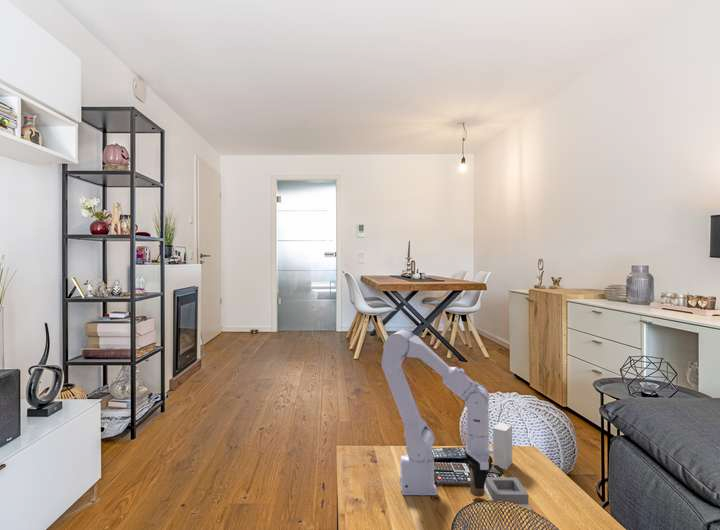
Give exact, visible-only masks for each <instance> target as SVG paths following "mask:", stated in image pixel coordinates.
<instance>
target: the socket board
mask: <svg viewBox="0 0 720 530" xmlns="http://www.w3.org/2000/svg"><path fill="white" fill-rule="evenodd" d="M484 492H485V493H486V495H487V497H488V499H489V501H490V500H493V501H502V502H509V503H513V504H516V505H519V506H522V507H525V508H528V509H531V510H532V511H533V509H532V506H531V504H529V494H528V491H527V490H526V489H525V488H524V486H523V485H522V483H521V481H520V480H519V479H518V477H512V476H511V477H510V476H509V477H506V476H505V477H495V476H494V477H492V476H491V477H489V476H487V478H486V482H485V486H484Z"/></svg>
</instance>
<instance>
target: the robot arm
mask: <svg viewBox="0 0 720 530" xmlns="http://www.w3.org/2000/svg"><path fill="white" fill-rule="evenodd" d="M382 348H383V352H382V358H381V368H382V371H383V374H384V376H385V379H386V381H387V384H388V387H389V389H390V392H391V395H392V398H393V400H394V403H395V405H396V408H397V410H398V412H399V415H400V418H401V422H402V424H403V426H404V432H403V433H404V435H403V436H404V440H405V443H406V444H405V451H406V454H403V455H400V459H399V461H400V465H399V466H400V467H399V468H400V469H399V470H400V476H399V483H400V487H401V489H400V490H401V494H402V495H403V496H438V491H437V487H436V484H434V483H435V454H434V452H433V450H432V447H433V446H434V444H435V442H436V437H435V434H434V432H433V430H432V429H430V427H429V426H428V423H427V422H426V421H425V419H424V418H422V417H421V414H420V411H419V408H418V407H417V403H416V401H415V398H414V396H413V394H412V390H411V388H410V385H409V383H408V380H407V377H406V375H405V373H404V370H403V367H402V363H403V361H404V359H405V357H407V358H418V359H420V361H422V362H424V364H426V365H427V366H429V367H430V368H432V370H434V372H436V373H437V374H439V375H440V376H441V378H442V383H443V384H444V386H446V387H447V388H448V389H449V390H451V392H453V393H454V395H456V396H458V398H459V399H461V400H463V401H464V403H465V407H466V411H467V413H466V445H465V450H464V451H463V453H464V455H465V458H466V460H467V465H468V469H469V471H470V466H471V469H472V472H473V478H474V484H475V488H476V489H484V486H485V482H486V478H487V477H488V474H489V472H490V471H491V469H492V468H493V467H492V466H493V465H492V462H491V461H489V459H490V455H491V454H492V455H493V448H492V447H489V445H490V442H489V441H490V440H489V439H490V438H489V434H490V425H489V424H490V417H489V401H490V394H489V391H488V389H487V388H486V387H485V386H484V385H482V384H479V382H477V381H473V380H472V379H471V378H470V377H469V376H468V375H467V374H466V373H465V370H464V369H463V368H462V367H461V368H459V367H457V366H450V365H449V364H448V363H446V361H444V360H443V358H441V357H440V356H439V355H437V353H436V352H434V351H433V349H432V348H430V347H429V345H427V344H426V343H425V342H424V341H423V340H422V339H421V338H420V337H419V336H418V335H416V334H414V333H413V331H411V330H409V329H407V328H401V329H399V330H396V332H394V333H392V334H390V335H388V337H387V338H386V340H385V342H384V344H383V345H382ZM484 490H485V489H484Z"/></svg>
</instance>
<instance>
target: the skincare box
mask: <svg viewBox="0 0 720 530" xmlns="http://www.w3.org/2000/svg"><path fill="white" fill-rule="evenodd" d="M492 442H493V443H492V445H493V446H492V447H493V448H492V450H493V454H492V457H493V459H492V460H493V465H498V466H499V467H500V468H499V469H501V468H502V470H505V471H507V470H508V469H509V467H510V466H511V465H512V464H513V424H507V423H504V422H498V423H496V425H495V426H494V427H493V428H492Z"/></svg>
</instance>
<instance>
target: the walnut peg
mask: <svg viewBox="0 0 720 530" xmlns="http://www.w3.org/2000/svg"><path fill="white" fill-rule="evenodd" d="M469 475H470V485H469V486H470V494H471V495H472V496H474V497H476V498H477V497H480V498H481V497H484V496H485V489H476V488H475V484H474V478H473V472H472V469H471V466H470V470H469Z"/></svg>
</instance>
